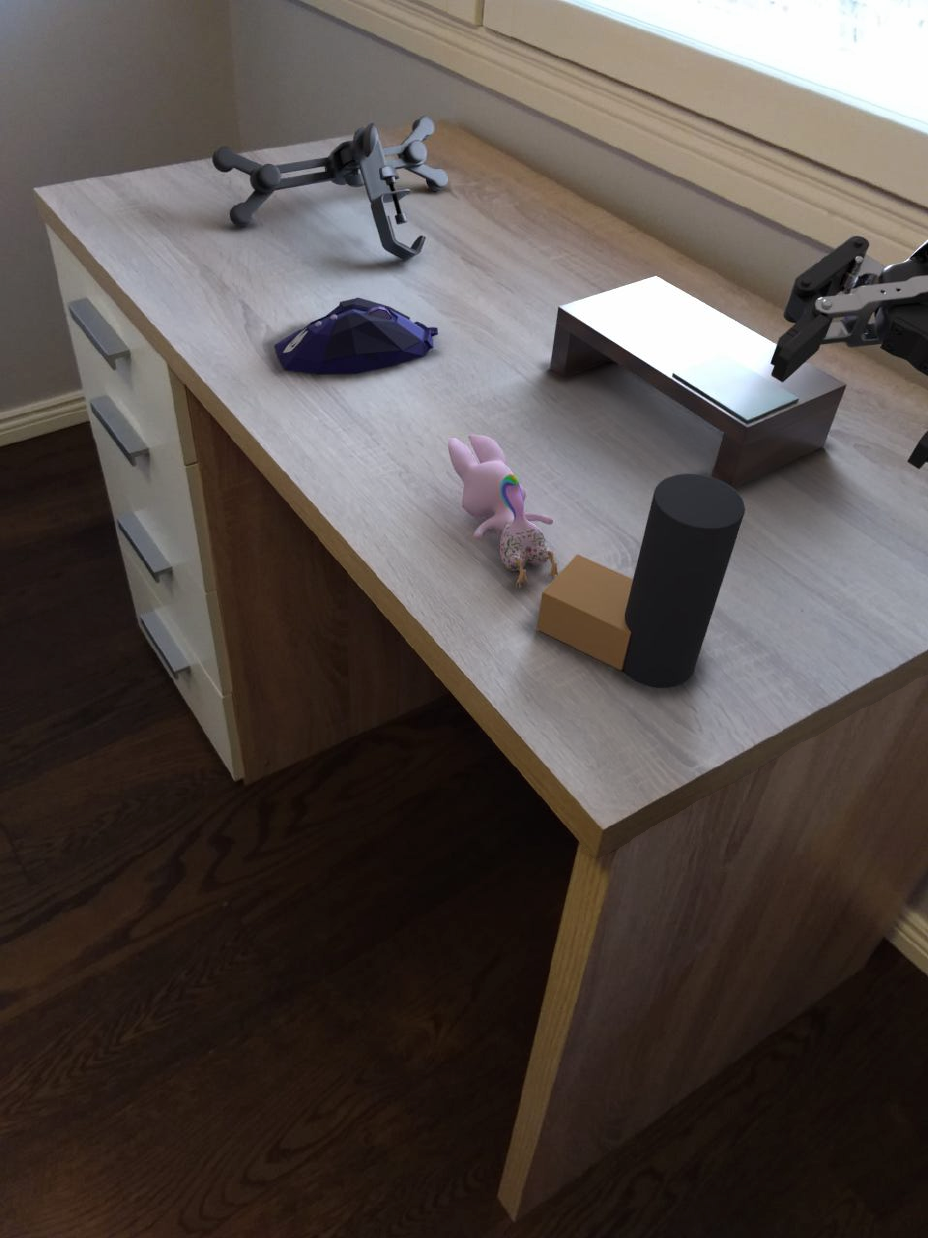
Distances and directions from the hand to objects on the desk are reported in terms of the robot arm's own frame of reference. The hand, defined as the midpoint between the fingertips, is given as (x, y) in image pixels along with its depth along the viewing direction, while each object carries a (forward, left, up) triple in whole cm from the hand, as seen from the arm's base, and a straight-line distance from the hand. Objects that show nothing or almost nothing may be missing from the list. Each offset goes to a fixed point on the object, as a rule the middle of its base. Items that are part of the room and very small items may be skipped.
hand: (847, 410), depth 53 cm
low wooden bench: (+25, -19, -20) cm, 37 cm away
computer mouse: (+48, 0, -20) cm, 52 cm away
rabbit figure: (+21, +5, -20) cm, 29 cm away
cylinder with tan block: (+7, +5, -20) cm, 22 cm away
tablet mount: (+69, -15, -20) cm, 74 cm away
